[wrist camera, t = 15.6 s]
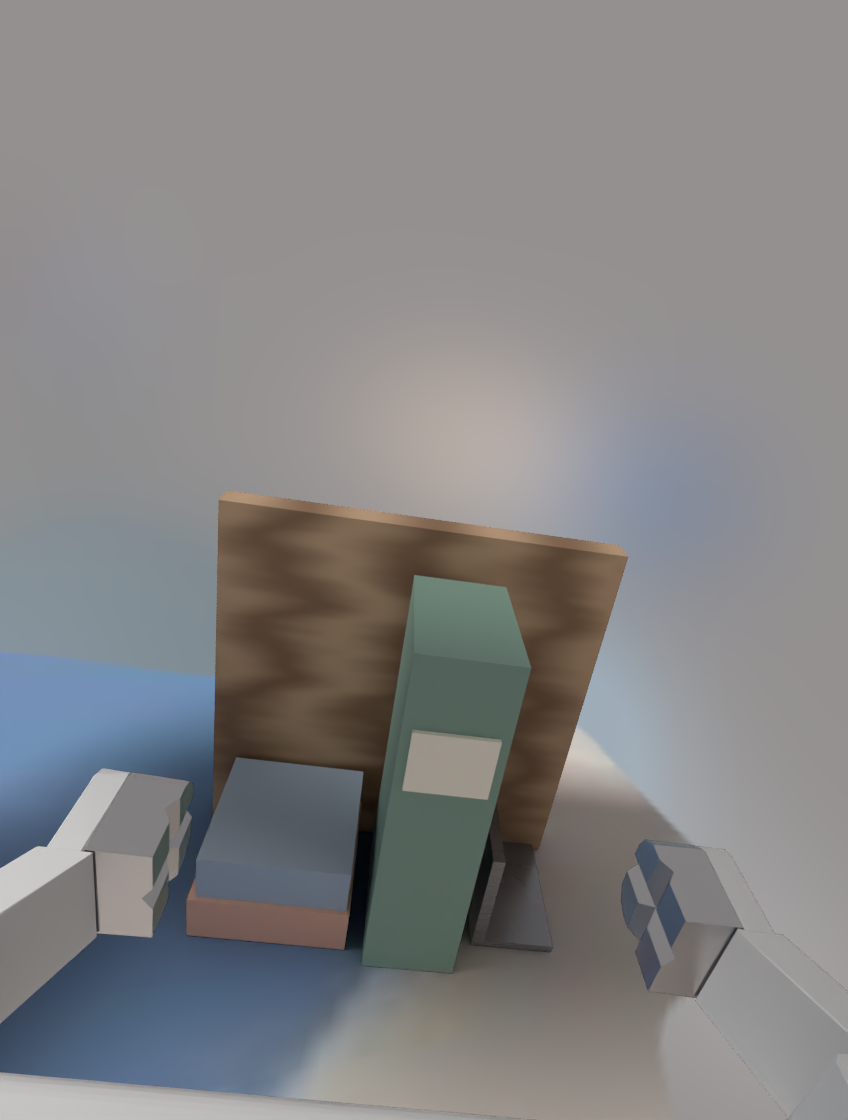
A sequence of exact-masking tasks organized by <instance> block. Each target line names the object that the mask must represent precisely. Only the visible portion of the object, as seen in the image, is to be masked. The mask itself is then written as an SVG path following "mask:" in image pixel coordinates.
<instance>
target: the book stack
mask: <svg viewBox="0 0 848 1120" xmlns="http://www.w3.org/2000/svg"><path fill="white" fill-rule="evenodd" d="M362 781H363V772H362V771H353V770H344V769H335V768H326V767H317V766H309V765H300V764H291V763H282V762H273V761H264V760H255V759H246V758H237V757H236V760H235V762H234V765H233V767H232V770H231V772H230V775H229V777H228V780H227V782H226V785H225V787H224V790H223V792H222V795H221V797H220V800H219V803H218V805H217V808H216V810H215V813H214V815H213V818H212V820H211V823H210V825H209V828H208V830H207V833H206V835H205V838H204V840H203V843H202V845H201V848H200V850H199V853H198V856H197V858H196V876H195V879H194V881H193V884H192V887H191V889H190V892H189V894H188V897H187V900H186V935H190V936H201V937H212V938H222V939H233V940H244V941H255V942H265V943H276V944H287V945H298V946H308V947H319V948H330V949H341V950H344V948H345V941H346V934H347V928H348V921H349V914H350V905H351V896H352V887H353V878H354V869H355V861H356V852H357V843H358V834H359V825H360V816H361V808H362V802H360V798H361V789H362Z"/></svg>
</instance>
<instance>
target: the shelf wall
mask: <svg viewBox="0 0 848 1120" xmlns="http://www.w3.org/2000/svg"><path fill="white" fill-rule="evenodd" d="M218 516H219V517H218V564H217V615H216V616H217V617H216V619H217V620H216V667H215V670H216V671H215V718H214V769H213V815H214V813H215V810H216V808H217V805H218V803H219V800H220V797H221V795H222V792H223V790H224V787H225V785H226V782H227V780H228V777H229V775H230V772H231V770H232V767H233V765H234V762H235V760H236V757H237V758H246V759H255V760H264V761H273V762H282V763H291V764H300V765H309V766H317V767H326V768H335V769H344V770H353V771H362V772H363V781H362V789H361V798H360V802H362V808H361V816H360V825H359V831H365V832H374V826H375V819H376V813H377V807H378V801H379V794H380V788H381V782H382V775H383V769H384V763H385V757H386V750H387V744H388V738H389V732H390V725H391V719H392V713H393V706H394V700H395V694H396V688H397V681H398V675H399V669H400V663H401V656H402V650H403V644H404V637H405V631H406V625H407V619H408V612H409V606H410V600H411V594H412V587H413V581H414V575H418V576H426V577H433V578H441V579H448V580H456V581H464V582H471V583H479V584H486V585H494V586H501V587H507V591H508V594H509V597H510V600H511V604H512V607H513V610H514V613H515V617H516V620H517V623H518V626H519V630H520V633H521V636H522V639H523V643H524V646H525V649H526V652H527V656H528V659H529V662H530V665H531V671H530V675H529V679H528V682H527V686H526V690H525V694H524V698H523V702H522V706H521V709H520V713H519V717H518V721H517V725H516V729H515V732H514V736H513V740H512V744H511V748H510V752H509V756H508V759H507V763H506V767H505V771H504V775H503V779H502V783H501V786H500V790H499V794H498V798H497V809H498V815H499V822H500V829H501V835H502V841H505V842H514V843H524V844H532V848H533V849H535V850H538V849H539V846H540V842H541V839H542V836H543V833H544V829H545V826H546V823H547V820H548V816H549V813H550V810H551V807H552V803H553V800H554V797H555V794H556V790H557V787H558V784H559V781H560V777H561V774H562V771H563V768H564V764H565V761H566V758H567V755H568V751H569V748H570V745H571V742H572V738H573V735H574V732H575V729H576V725H577V722H578V719H579V715H580V712H581V709H582V706H583V702H584V699H585V696H586V693H587V689H588V686H589V683H590V680H591V676H592V673H593V670H594V667H595V663H596V660H597V657H598V653H599V650H600V647H601V644H602V641H603V637H604V634H605V631H606V628H607V624H608V621H609V618H610V614H611V611H612V608H613V605H614V602H615V598H616V595H617V592H618V589H619V585H620V582H621V579H622V576H623V572H624V569H625V566H626V562H627V559H628V556H627V555H626V554H625V552H624V551H623V550H622V549H621V547H620V546H619V545H612V544H605V543H598V542H591V541H584V540H577V539H569V538H562V537H555V536H548V535H541V534H533V533H526V532H519V531H513V530H505V529H498V528H491V527H484V526H477V525H469V524H463V523H456V522H448V521H441V520H434V519H427V518H420V517H413V516H406V515H398V514H391V513H384V512H377V511H369V510H363V509H356V508H349V507H342V506H334V505H328V504H320V503H313V502H306V501H299V500H291V499H285V498H277V497H271V496H263V495H256V494H249V493H242V492H235V491H227V492H226V493H225V494H224V495H223V496H222V497H221V498H220V499H219V513H218Z"/></svg>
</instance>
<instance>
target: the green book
mask: <svg viewBox="0 0 848 1120" xmlns="http://www.w3.org/2000/svg"><path fill="white" fill-rule="evenodd" d="M530 671H531V665H530V662H529V659H528V656H527V652H526V649H525V646H524V643H523V639H522V636H521V633H520V630H519V626H518V623H517V620H516V617H515V613H514V610H513V607H512V604H511V600H510V597H509V594H508V591H507V587H501V586H494V585H486V584H479V583H471V582H464V581H456V580H448V579H441V578H433V577H426V576H418V575H414V581H413V587H412V594H411V600H410V606H409V612H408V619H407V625H406V631H405V637H404V644H403V650H402V656H401V663H400V669H399V675H398V681H397V688H396V694H395V700H394V706H393V713H392V719H391V725H390V732H389V738H388V744H387V750H386V757H385V763H384V769H383V775H382V782H381V788H380V794H379V801H378V807H377V813H376V819H375V826H374V832H373V838H372V844H371V854H370V866H369V878H368V891H367V903H366V915H365V927H364V939H363V952H362V964H361V966H372V967H384V968H395V969H407V970H418V971H430V972H441V973H452V971H453V968H454V964H455V960H456V956H457V952H458V948H459V944H460V941H461V937H462V933H463V929H464V925H465V921H466V917H467V914H468V910H469V906H470V902H471V898H472V894H473V891H474V887H475V883H476V879H477V875H478V871H479V867H480V864H481V860H482V856H483V852H484V848H485V844H486V840H487V837H488V833H489V829H490V825H491V821H492V817H493V813H494V810H495V806H496V802H497V798H498V794H499V790H500V786H501V783H502V779H503V775H504V771H505V767H506V763H507V759H508V756H509V752H510V748H511V744H512V740H513V736H514V732H515V729H516V725H517V721H518V717H519V713H520V709H521V706H522V702H523V698H524V694H525V690H526V686H527V682H528V679H529V675H530Z"/></svg>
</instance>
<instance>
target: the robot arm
mask: <svg viewBox="0 0 848 1120" xmlns="http://www.w3.org/2000/svg"><path fill="white" fill-rule="evenodd" d="M192 798H193V783H192V782H190V781H185V780H178V779H172V778H166V777H159V776H153V775H146V774H140V773H130V772H124V771H117V770H111V769H104V768H103V769H101V770H100V771H99V772H98V773H96V774H95V775H94V776H93V778H92V779H91V781H90V783H89V784H88V786H87V787H86V789H85V790H84V792H83V793H82V795H81V796H80V798H79V799H78V801H77V802H76V804H75V805H74V807H73V808H72V810H71V811H70V813H69V814H68V816H67V817H66V819H65V820H64V822H63V823H62V825H61V826H60V828H59V829H58V831H57V832H56V834H55V835H54V837H53V838H52V840H51V841H50V843H49V844H48V846H47V847H42V846H37V847H35V848H33V849H32V850H30V851H28V852H27V853H25V854H23V855H22V856H20V857H18V858H17V859H15V860H13V861H12V862H10V863H8V864H7V865H5V866H3V867H2V868H0V1023H2V1022H3V1021H4V1020H5V1019H6V1018H7V1017H8V1016H9V1015H10V1014H12V1013H13V1012H14V1011H15V1010H16V1009H17V1008H18V1007H19V1006H20V1005H22V1004H23V1003H24V1002H25V1001H26V1000H27V999H28V998H29V997H30V996H32V995H33V994H34V993H35V992H36V991H37V990H38V989H39V988H40V987H42V986H43V985H44V984H45V983H46V982H47V981H48V980H49V979H51V978H52V977H53V976H54V975H55V974H56V973H57V972H58V971H59V970H61V969H62V968H63V967H64V966H65V965H66V964H67V963H68V962H69V961H71V960H72V959H73V958H74V957H75V956H76V955H77V954H78V953H79V952H81V951H82V950H83V949H84V948H85V947H86V946H87V945H88V944H89V943H91V942H92V941H93V940H94V939H95V938H96V937H97V933H101V934H113V935H126V936H139V937H153V935H154V932H155V930H156V927H157V925H158V922H159V920H160V918H161V915H162V913H163V910H164V908H165V905H166V903H167V901H168V887H169V881H170V880H172V879H173V878H174V877H176V876H177V875H178V873H179V871H180V868H181V866H182V863H183V861H184V858H185V854H186V851H187V847H188V843H189V839H190V833H191V825H192V816H191V815H190V814H189V812H188V811H187V810H188V807H189V805H190V803H191V800H192ZM635 855H636V858H637V861H638V863H639V864H637V865H636V866H634V867H633V868H631V869H630V870H628V871H627V873H626V876H625V878H624V881H623V883H622V892H621V904H622V911H623V915H624V919H625V922H626V925H627V928H628V929H629V930H630V931H631V932H632V933H633V934H634V935H635V936H636V937H637V938H638V939H639V943H638V946H637V949H636V951H635V953H636V956H637V959H638V962H639V965H640V968H641V971H642V974H643V977H644V980H645V983H646V986H647V989H648V991H649V992H657V993H664V994H671V995H678V996H685V997H692V998H696V1000H695V1001H696V1002H697V1004H698V1005H699V1006H700V1007H701V1009H702V1010H703V1011H704V1012H705V1014H706V1015H707V1016H708V1018H709V1019H710V1020H711V1021H712V1022H713V1024H714V1025H715V1026H716V1028H717V1029H718V1030H719V1031H720V1033H721V1034H722V1035H723V1036H724V1038H725V1039H726V1040H727V1041H728V1043H729V1044H730V1045H731V1047H732V1048H733V1049H734V1050H735V1052H736V1053H737V1054H738V1055H739V1057H740V1058H741V1059H742V1061H743V1062H744V1063H745V1064H746V1066H747V1067H748V1068H749V1069H750V1071H751V1072H752V1073H753V1074H754V1076H755V1077H756V1078H757V1080H758V1081H759V1082H760V1083H761V1085H762V1086H763V1087H764V1088H765V1090H766V1091H767V1092H768V1093H769V1095H770V1096H771V1097H772V1099H773V1100H774V1101H775V1102H776V1104H777V1105H778V1106H779V1107H780V1109H781V1110H782V1111H783V1112H784V1114H785V1115H786V1116H787V1117H788V1118H787V1120H848V991H847V990H846V989H845V988H844V987H842V986H841V985H840V984H839V983H838V982H837V981H836V980H834V979H833V978H832V977H831V976H830V975H829V974H827V973H826V972H825V971H824V970H823V969H822V968H821V967H819V966H818V965H817V964H816V963H815V962H814V961H813V960H811V959H810V958H809V957H808V956H807V955H806V954H805V953H803V952H802V951H801V950H800V949H799V948H798V947H797V946H795V945H794V944H793V943H792V942H791V941H790V940H789V939H787V938H786V937H785V936H784V935H782V934H776V933H774V931H773V929H772V928H771V926H770V924H769V922H768V921H767V919H766V917H765V915H764V913H763V911H762V909H761V908H760V906H759V904H758V902H757V900H756V899H755V897H754V895H753V893H752V891H751V890H750V888H749V886H748V885H747V882H746V881H745V879H744V877H743V875H742V873H741V872H740V870H739V868H738V866H737V864H736V863H735V861H734V859H733V857H732V856H731V854H729V853H728V852H727V851H726V850H725V849H719V848H710V847H701V846H694V845H686V844H678V843H669V842H661V841H652V840H644V841H643V842H642V843H641V844H640V845H639V847H638V849H637V851H636V853H635ZM0 1120H533V1119H522V1118H511V1117H500V1116H488V1115H477V1114H466V1113H454V1112H443V1111H431V1110H420V1109H409V1108H397V1107H386V1106H374V1105H363V1104H351V1103H340V1102H329V1101H317V1100H306V1099H295V1098H284V1097H272V1096H261V1095H250V1094H238V1093H227V1092H216V1091H205V1090H193V1089H182V1088H171V1087H159V1086H148V1085H137V1084H126V1083H114V1082H103V1081H92V1080H80V1079H69V1078H58V1077H47V1076H35V1075H24V1074H13V1073H2V1072H0Z"/></svg>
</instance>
